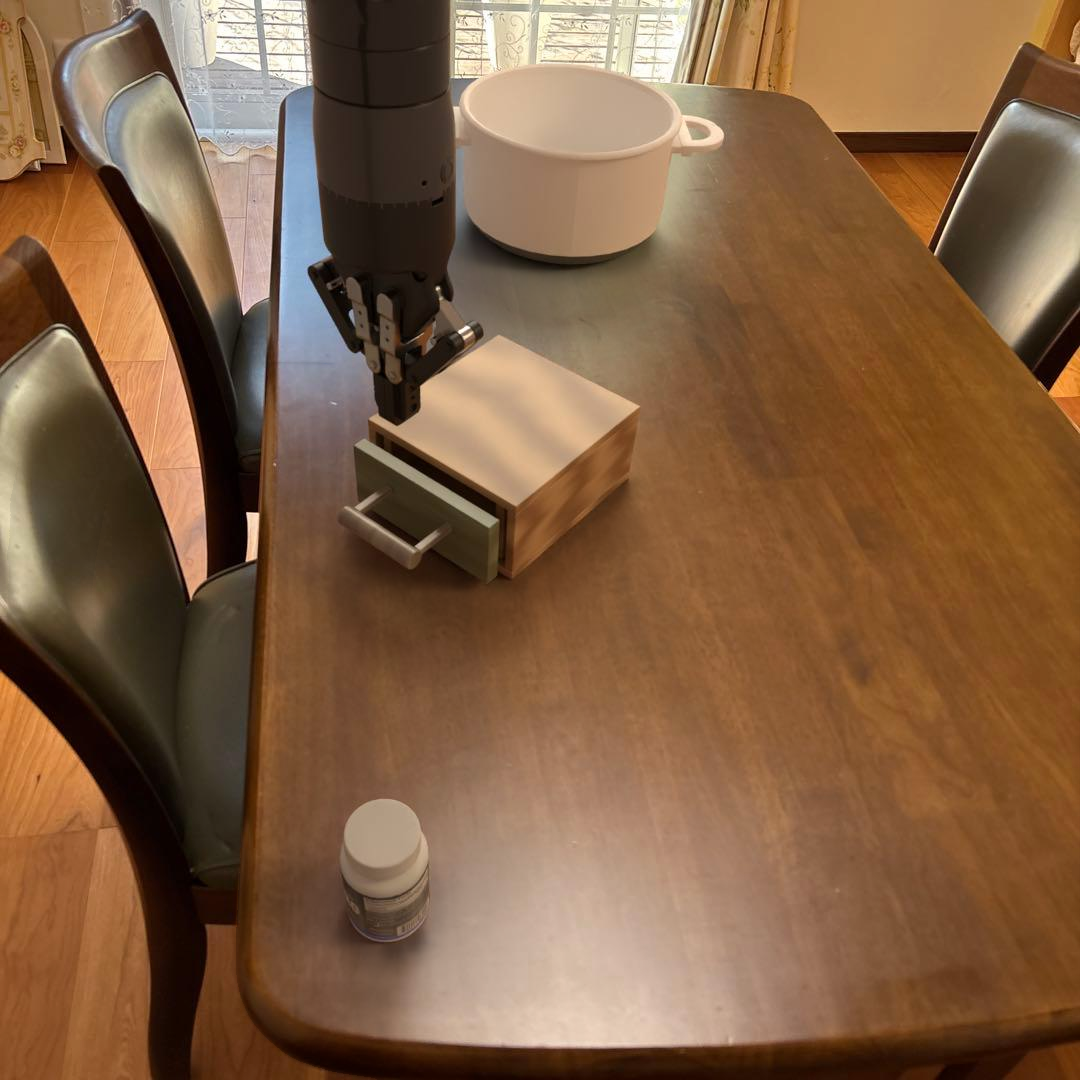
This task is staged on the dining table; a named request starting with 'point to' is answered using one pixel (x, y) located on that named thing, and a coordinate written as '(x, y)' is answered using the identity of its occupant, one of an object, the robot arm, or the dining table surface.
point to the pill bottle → (385, 870)
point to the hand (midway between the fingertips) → (398, 416)
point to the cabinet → (521, 441)
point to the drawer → (424, 511)
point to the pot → (570, 159)
